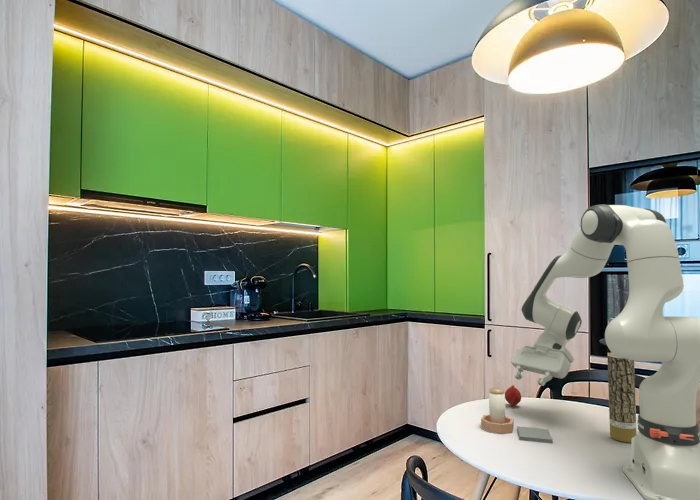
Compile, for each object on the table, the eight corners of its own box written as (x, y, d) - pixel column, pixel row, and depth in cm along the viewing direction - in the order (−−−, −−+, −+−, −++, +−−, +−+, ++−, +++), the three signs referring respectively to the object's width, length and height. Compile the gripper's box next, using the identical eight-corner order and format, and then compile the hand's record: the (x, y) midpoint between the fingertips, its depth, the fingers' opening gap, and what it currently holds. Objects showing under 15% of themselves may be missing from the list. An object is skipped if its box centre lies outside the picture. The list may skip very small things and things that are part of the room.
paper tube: (641, 444, 126) (638, 357, 127) (615, 442, 127) (612, 356, 129) (631, 435, 133) (628, 352, 134) (606, 434, 134) (603, 352, 135)
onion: (501, 405, 163) (501, 383, 164) (512, 403, 166) (512, 382, 166) (513, 409, 158) (512, 387, 158) (524, 407, 160) (524, 385, 161)
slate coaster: (552, 443, 127) (552, 439, 127) (519, 439, 130) (519, 436, 130) (548, 432, 136) (547, 428, 136) (517, 429, 138) (517, 426, 138)
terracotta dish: (511, 435, 133) (511, 426, 133) (479, 430, 137) (479, 421, 137) (514, 425, 142) (514, 417, 142) (484, 421, 146) (484, 412, 146)
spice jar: (504, 428, 136) (503, 392, 137) (488, 425, 138) (487, 390, 139) (506, 423, 140) (505, 388, 141) (490, 421, 143) (490, 386, 143)
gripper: (518, 339, 159) (499, 369, 154) (569, 347, 140) (549, 381, 135) (527, 351, 160) (509, 380, 155) (578, 360, 142) (559, 394, 137)
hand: (528, 381), depth 145 cm, fingers open, 8 cm apart
